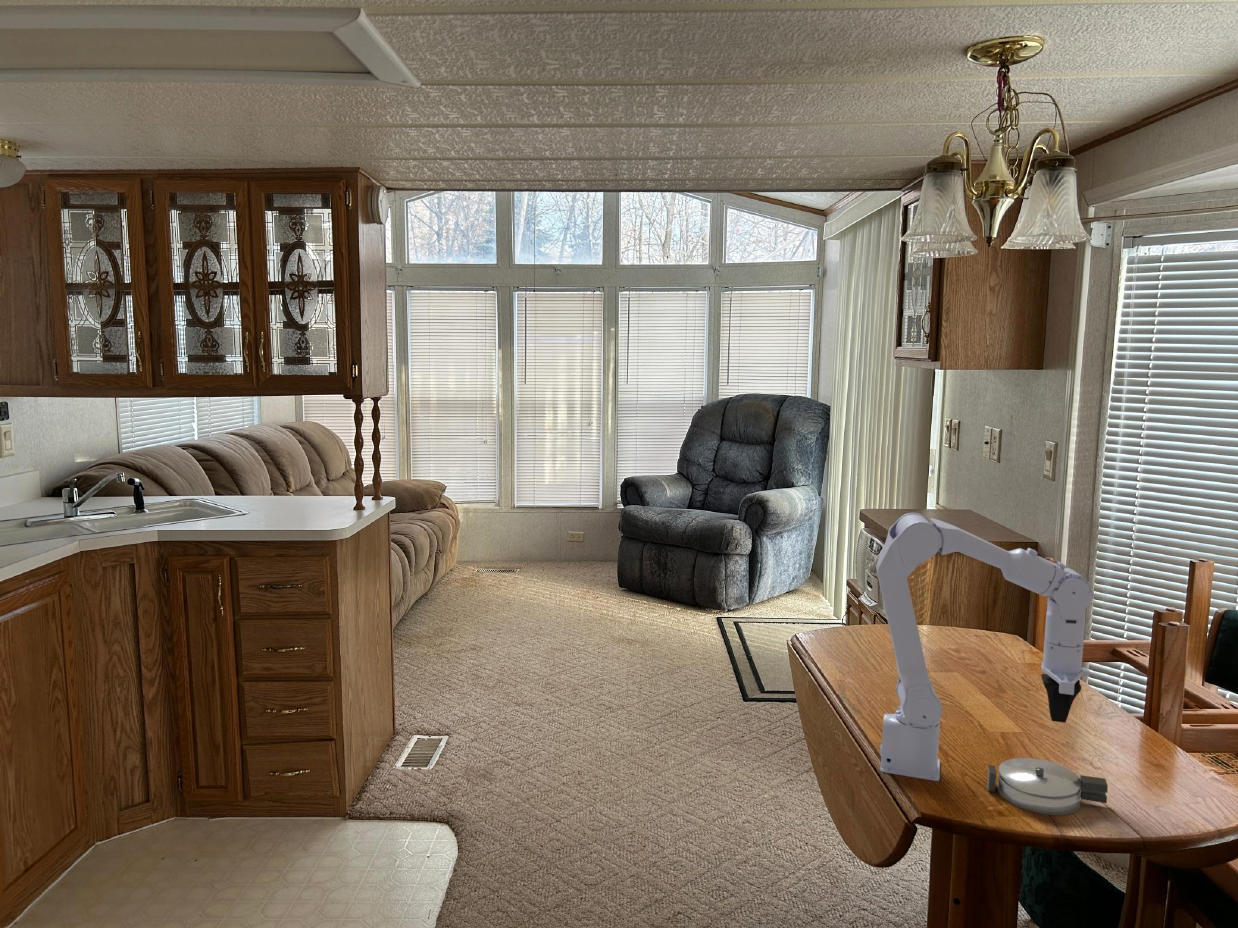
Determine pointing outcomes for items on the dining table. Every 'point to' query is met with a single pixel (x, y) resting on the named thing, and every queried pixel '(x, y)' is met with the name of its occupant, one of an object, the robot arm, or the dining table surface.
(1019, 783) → the lid
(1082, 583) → the robot arm
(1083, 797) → the pot
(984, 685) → the dining table surface
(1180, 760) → the dining table surface
